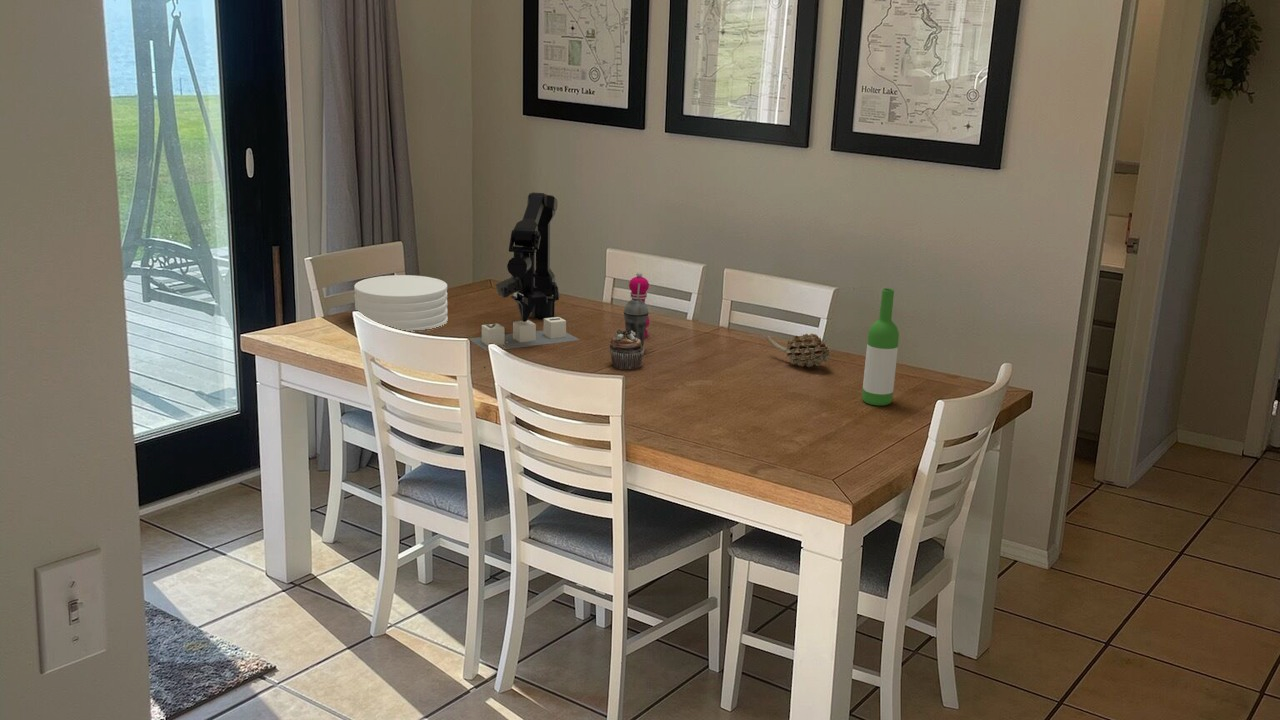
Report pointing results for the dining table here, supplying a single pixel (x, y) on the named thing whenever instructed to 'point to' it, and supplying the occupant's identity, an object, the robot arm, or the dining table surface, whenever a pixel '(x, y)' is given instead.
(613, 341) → the cupcake
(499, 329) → the block seven
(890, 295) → the wine bottle
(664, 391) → the dining table surface
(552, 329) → the block one
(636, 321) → the beverage cup
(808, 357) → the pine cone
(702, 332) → the dining table surface
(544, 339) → the mat
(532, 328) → the plain block
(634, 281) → the pepper mill
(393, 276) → the plate stack
